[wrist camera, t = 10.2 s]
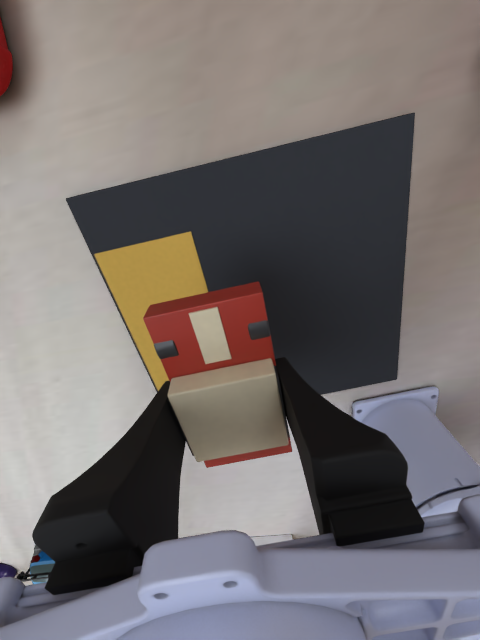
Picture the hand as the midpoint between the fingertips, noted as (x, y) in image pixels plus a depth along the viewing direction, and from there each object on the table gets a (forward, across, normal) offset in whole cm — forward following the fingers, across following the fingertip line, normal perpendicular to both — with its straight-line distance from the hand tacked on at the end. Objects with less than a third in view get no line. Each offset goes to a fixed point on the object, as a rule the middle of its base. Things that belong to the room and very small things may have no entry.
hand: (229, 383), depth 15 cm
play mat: (+8, -3, 0) cm, 9 cm away
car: (-1, -2, 0) cm, 3 cm away
